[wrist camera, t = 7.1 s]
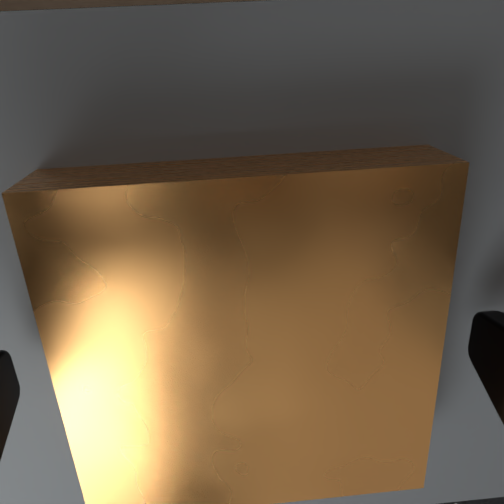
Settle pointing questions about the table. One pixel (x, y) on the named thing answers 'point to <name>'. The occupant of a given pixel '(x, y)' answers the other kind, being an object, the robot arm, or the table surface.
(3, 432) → the robot arm
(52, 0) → the table surface
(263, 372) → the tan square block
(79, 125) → the gray rectangular block
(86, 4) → the table surface
